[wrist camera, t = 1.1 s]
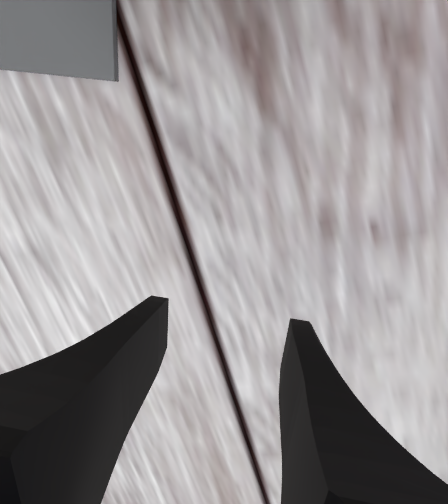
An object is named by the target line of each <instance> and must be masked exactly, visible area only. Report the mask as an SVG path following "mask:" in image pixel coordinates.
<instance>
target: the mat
mask: <svg viewBox="0 0 448 504" xmlns="http://www.w3.org/2000/svg"><path fill="white" fill-rule="evenodd" d="M0 69H1V70H10V71H20V72H30V73H39V74H49V75H58V76H68V77H78V78H87V79H97V80H107V81H118V54H117V20H116V0H0Z"/></svg>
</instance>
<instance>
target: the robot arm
mask: <svg viewBox="0 0 448 504" xmlns="http://www.w3.org/2000/svg"><path fill="white" fill-rule="evenodd" d="M168 299H169V298H163V297H157V296H150V297H148V298H147V299H146V300H144V301H143V302H141V303H140V304H138V305H137V306H135V307H134V308H133V309H131V310H130V311H128V312H127V313H125V314H124V315H123V316H121V317H120V318H118V319H117V320H115V321H114V322H112V323H111V324H109V325H107V326H106V327H104V328H102V329H101V330H99V331H97V332H96V333H94V334H92V335H91V336H89V337H87V338H86V339H84V340H82V341H80V342H78V343H76V344H74V345H72V346H70V347H68V348H66V349H64V350H62V351H60V352H58V353H56V354H53V355H51V356H49V357H46V358H44V359H41V360H39V361H36V362H34V363H31V364H29V365H26V366H24V367H21V368H18V369H16V370H13V371H10V372H7V373H4V374H1V375H0V504H101V502H102V499H103V496H104V493H105V491H106V488H107V485H108V482H109V480H110V477H111V474H112V472H113V469H114V466H115V464H116V461H117V459H118V456H119V453H120V451H121V448H122V446H123V443H124V441H125V438H126V436H127V434H128V432H129V430H130V428H131V426H132V424H133V422H134V420H135V418H136V416H137V414H138V412H139V410H140V408H141V406H142V404H143V402H144V400H145V398H146V396H147V394H148V392H149V390H150V388H151V386H152V384H153V382H154V380H155V378H156V376H157V373H158V371H159V368H160V366H161V363H162V360H163V357H164V354H165V351H166V348H167V333H168ZM279 410H280V430H281V449H282V492H281V504H448V484H446V483H445V482H444V481H442V480H441V479H440V478H438V477H437V476H436V475H435V474H433V473H432V472H431V471H430V470H428V469H427V468H426V467H425V466H424V465H423V464H422V463H420V462H419V461H418V460H417V459H416V458H415V457H414V456H412V455H411V454H410V453H409V452H408V451H407V450H406V449H405V448H404V447H402V446H401V445H400V444H399V443H398V442H397V441H396V440H395V439H394V438H393V437H392V436H391V435H390V434H389V433H388V432H387V431H386V430H385V429H384V428H383V427H382V426H381V425H380V424H379V423H378V422H377V421H376V420H375V418H374V417H373V416H372V415H371V414H370V413H369V412H368V411H367V409H366V408H365V407H364V406H363V405H362V403H361V402H360V401H359V400H358V399H357V397H356V396H355V395H354V394H353V392H352V391H351V390H350V388H349V387H348V385H347V384H346V383H345V381H344V380H343V378H342V377H341V375H340V374H339V372H338V371H337V369H336V368H335V366H334V364H333V363H332V361H331V360H330V358H329V356H328V355H327V353H326V351H325V350H324V348H323V346H322V344H321V342H320V341H319V339H318V337H317V335H316V333H315V331H314V329H313V327H312V325H311V323H310V322H309V321H303V320H297V319H291V318H290V322H289V327H288V332H287V337H286V342H285V347H284V352H283V357H282V362H281V369H280V383H279Z"/></svg>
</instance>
